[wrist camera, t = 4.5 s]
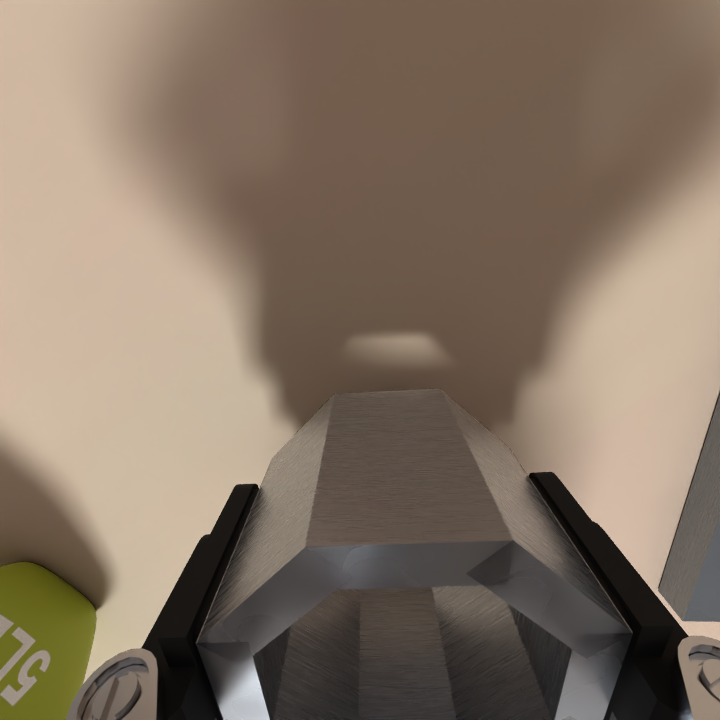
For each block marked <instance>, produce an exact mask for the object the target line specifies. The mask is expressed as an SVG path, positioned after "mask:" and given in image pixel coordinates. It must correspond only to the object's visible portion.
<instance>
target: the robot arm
mask: <svg viewBox="0 0 720 720" xmlns="http://www.w3.org/2000/svg"><path fill="white" fill-rule="evenodd" d="M529 478H530V480H531V481H532V483H533V484H534V486H535V487H536V489H537V490H538V492H539V493H540V495H541V496H542V498H543V499H544V500H545V502H546V503H547V505H548V506H549V508H550V509H551V511H552V512H553V514H554V515H555V517H556V518H557V520H558V521H559V523H560V524H561V526H562V527H563V529H564V530H565V532H566V533H567V535H568V536H569V538H570V539H571V541H572V542H573V544H574V545H575V547H576V548H577V550H578V551H579V553H580V554H581V556H582V557H583V559H584V560H585V562H586V563H587V565H588V566H589V568H590V569H591V571H592V572H593V574H594V575H595V577H596V578H597V580H598V581H599V583H600V584H601V586H602V587H603V589H604V590H605V592H606V593H607V595H608V596H609V598H610V599H611V601H612V602H613V604H614V605H615V607H616V608H617V610H618V611H619V613H620V614H621V616H622V617H623V619H624V620H625V622H626V623H627V625H628V626H629V628H630V629H631V631H632V632H633V635H632V638H631V640H630V643H629V646H628V649H627V652H626V655H625V658H624V661H623V664H622V667H621V670H620V673H619V675H618V678H617V681H616V684H615V687H614V690H613V693H612V696H611V699H610V702H609V705H608V708H607V710H606V713H605V716H604V719H603V720H720V641H719V640H716V639H712V638H709V637H705V636H688V635H687V634H686V632H685V631H684V630H683V629H682V627H681V626H680V625H679V624H678V622H677V621H676V620H675V619H674V617H673V616H672V615H671V614H670V612H669V611H668V610H667V609H666V607H665V606H664V605H663V604H662V602H661V601H660V600H659V599H658V597H657V596H656V595H655V594H654V592H653V591H652V590H651V589H650V587H649V586H648V585H647V584H646V582H645V581H644V580H643V579H642V577H641V576H640V575H639V574H638V572H637V571H636V570H635V569H634V567H633V566H632V565H631V564H630V562H629V561H628V560H627V559H626V557H625V556H624V555H623V554H622V552H621V551H620V550H619V549H618V547H617V546H616V545H615V544H614V542H613V541H612V540H611V539H610V537H609V536H608V535H607V534H606V532H605V531H604V530H603V529H602V528H601V527H600V526H599V525H598V524H597V523H595V522H593V521H592V520H591V519H590V518H589V517H588V515H587V514H586V513H585V512H584V510H583V509H582V508H581V506H580V505H579V504H578V503H577V501H576V500H575V499H574V497H573V496H572V495H571V494H570V492H569V491H568V490H567V489H566V487H565V486H564V485H563V483H562V482H561V481H560V480H559V478H558V477H557V476H556V475H555V474H554V473H552V472H539V473H530V475H529ZM258 491H259V488H258V485H257V484H238V485H236V486H235V487H234V489H233V491H232V493H231V495H230V497H229V499H228V501H227V502H226V504H225V506H224V508H223V510H222V512H221V514H220V516H219V518H218V520H217V522H216V524H215V526H214V528H213V530H212V532H211V534H208V535H204V536H203V537H202V538H201V539H200V541H199V542H198V544H197V546H196V548H195V550H194V551H193V553H192V555H191V557H190V559H189V561H188V563H187V564H186V566H185V568H184V570H183V572H182V574H181V576H180V577H179V579H178V581H177V583H176V585H175V587H174V589H173V591H172V592H171V594H170V596H169V598H168V600H167V602H166V604H165V605H164V607H163V609H162V611H161V613H160V615H159V617H158V618H157V620H156V622H155V624H154V626H153V628H152V630H151V631H150V633H149V635H148V637H147V639H146V641H145V643H144V644H143V646H142V648H140V649H130V650H127V651H125V652H122V653H119V654H117V655H116V656H114V657H113V658H111V659H109V660H108V661H106V662H105V663H104V664H103V665H101V666H100V667H99V668H98V669H97V670H96V671H95V672H93V673H92V675H91V676H90V677H89V678H88V679H87V681H86V682H85V683H84V684H83V685H82V686H81V688H80V690H79V691H78V693H77V695H76V696H75V698H74V700H73V701H72V703H71V706H70V709H69V712H68V715H67V717H66V720H224V719H223V717H222V714H221V711H220V708H219V706H218V703H217V700H216V697H215V694H214V692H213V689H212V686H211V683H210V681H209V678H208V675H207V672H206V670H205V667H204V664H203V661H202V659H201V656H200V653H199V650H198V647H197V645H196V642H197V639H198V637H199V634H200V632H201V630H202V627H203V625H204V622H205V620H206V617H207V615H208V613H209V610H210V608H211V605H212V603H213V600H214V598H215V596H216V593H217V591H218V588H219V586H220V583H221V581H222V579H223V576H224V574H225V571H226V569H227V566H228V564H229V562H230V559H231V557H232V554H233V552H234V549H235V547H236V545H237V542H238V540H239V537H240V535H241V532H242V530H243V528H244V525H245V523H246V520H247V518H248V515H249V513H250V511H251V508H252V506H253V503H254V501H255V498H256V496H257V494H258Z"/></svg>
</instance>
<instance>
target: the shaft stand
mask: <svg viewBox="0 0 720 720" xmlns="http://www.w3.org/2000/svg"><path fill="white" fill-rule="evenodd" d="M658 591H659V592H660V593H661V595H662V596H663V597H664V598H665V600H666V601H667V602H668V603H669V605H670V606H671V607H672V608H673V610H674V611H675V612H676V613H677V615H678V616H679V617H680V618H681V620H682V621H714V622H720V396H719V399H718V402H717V405H716V408H715V412H714V415H713V418H712V421H711V424H710V428H709V431H708V434H707V437H706V440H705V443H704V447H703V450H702V453H701V456H700V459H699V463H698V466H697V469H696V472H695V475H694V478H693V482H692V485H691V488H690V491H689V494H688V498H687V501H686V504H685V507H684V510H683V513H682V517H681V520H680V523H679V526H678V529H677V533H676V536H675V539H674V542H673V545H672V548H671V552H670V555H669V558H668V561H667V564H666V567H665V571H664V574H663V577H662V580H661V583H660V587H659V590H658Z"/></svg>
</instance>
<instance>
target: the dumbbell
mask: <svg viewBox="0 0 720 720" xmlns="http://www.w3.org/2000/svg"><path fill="white" fill-rule="evenodd" d="M96 619H97V618H96V611H95V609H94V607H93V605H92V604H91V603H90V602H89V601H88V599H87V598H85V597H84V596H83V595H82V594H81V593H80V592H78V591H77V590H76V589H75V588H73V587H72V586H71V585H69V584H68V583H67V582H65V581H64V580H62V579H61V578H60V577H58V576H57V575H55V574H54V573H52V572H50V571H49V570H47V569H45V568H43V567H41V566H39V565H37V564H34V563H30V562H17V563H13V564H8V565H4V566H1V567H0V720H66V717H67V715H68V712H69V709H70V706H71V703H72V701H73V700H74V698H75V696H76V695H77V693H78V691H79V690H80V688H81V686H82V685H83V681H84V678H85V674H86V670H87V665H88V661H89V657H90V653H91V649H92V644H93V639H94V634H95V629H96Z"/></svg>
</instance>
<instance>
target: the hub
mask: <svg viewBox="0 0 720 720" xmlns="http://www.w3.org/2000/svg"><path fill="white" fill-rule="evenodd" d="M632 635H633V632H632V631H631V629H630V628H629V626H628V625H627V623H626V622H625V620H624V619H623V617H622V616H621V614H620V613H619V611H618V610H617V608H616V607H615V605H614V604H613V602H612V601H611V599H610V598H609V596H608V595H607V593H606V592H605V590H604V589H603V587H602V586H601V584H600V583H599V581H598V580H597V578H596V577H595V575H594V574H593V572H592V571H591V569H590V568H589V566H588V565H587V563H586V562H585V560H584V559H583V557H582V556H581V554H580V553H579V551H578V550H577V548H576V547H575V545H574V544H573V542H572V541H571V539H570V538H569V536H568V535H567V533H566V532H565V530H564V529H563V527H562V526H561V524H560V523H559V521H558V520H557V518H556V517H555V515H554V514H553V512H552V511H551V509H550V508H549V506H548V505H547V503H546V502H545V500H544V499H543V498H542V496H541V495H540V493H539V492H538V490H537V489H536V487H535V486H534V484H533V483H532V481H531V480H530V478H529V477H528V475H527V474H526V472H525V471H524V469H523V468H522V466H521V465H520V463H519V462H518V460H517V459H516V457H515V456H514V454H513V453H512V451H511V450H510V448H508V447H507V446H506V445H505V444H504V443H503V442H501V441H500V440H499V439H498V438H497V437H496V436H495V435H493V434H492V433H491V432H490V431H489V430H488V429H487V428H485V427H484V426H483V425H482V424H481V423H480V422H478V421H477V420H476V419H475V418H474V417H473V416H472V415H470V414H469V413H468V412H467V411H466V410H465V409H464V408H462V407H461V406H460V405H459V404H458V403H457V402H456V401H454V400H453V399H452V398H451V397H450V396H449V395H447V394H446V393H445V392H444V391H443V390H442V389H441V388H437V389H416V390H396V391H375V392H355V393H334V394H333V396H332V397H331V398H330V399H329V400H328V401H327V402H326V403H325V404H324V405H323V406H322V407H321V408H320V409H319V410H318V411H317V412H316V413H315V414H314V415H313V416H312V417H311V418H310V420H309V421H308V422H307V423H306V424H305V425H304V426H303V427H302V428H301V429H300V430H299V431H298V432H297V433H296V434H295V435H294V436H293V437H292V438H291V439H290V440H289V441H288V442H287V444H286V445H285V446H284V447H283V448H282V449H281V450H280V451H279V452H278V453H277V454H276V455H275V456H274V457H273V458H272V460H271V462H270V464H269V467H268V469H267V472H266V474H265V477H264V479H263V481H262V484H261V486H260V489H259V491H258V494H257V496H256V498H255V501H254V503H253V506H252V508H251V511H250V513H249V515H248V518H247V520H246V523H245V525H244V528H243V530H242V532H241V535H240V537H239V540H238V542H237V545H236V547H235V549H234V552H233V554H232V557H231V559H230V562H229V564H228V566H227V569H226V571H225V574H224V576H223V579H222V581H221V583H220V586H219V588H218V591H217V593H216V596H215V598H214V600H213V603H212V605H211V608H210V610H209V613H208V615H207V617H206V620H205V622H204V625H203V627H202V630H201V632H200V634H199V637H198V639H197V642H196V645H197V647H198V650H199V653H200V656H201V659H202V661H203V664H204V667H205V670H206V672H207V675H208V678H209V681H210V683H211V686H212V689H213V692H214V694H215V697H216V700H217V703H218V706H219V708H220V711H221V714H222V717H223V719H224V720H603V719H604V716H605V713H606V710H607V708H608V705H609V702H610V699H611V696H612V693H613V690H614V687H615V684H616V681H617V678H618V675H619V673H620V670H621V667H622V664H623V661H624V658H625V655H626V652H627V649H628V646H629V643H630V640H631V638H632Z"/></svg>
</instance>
